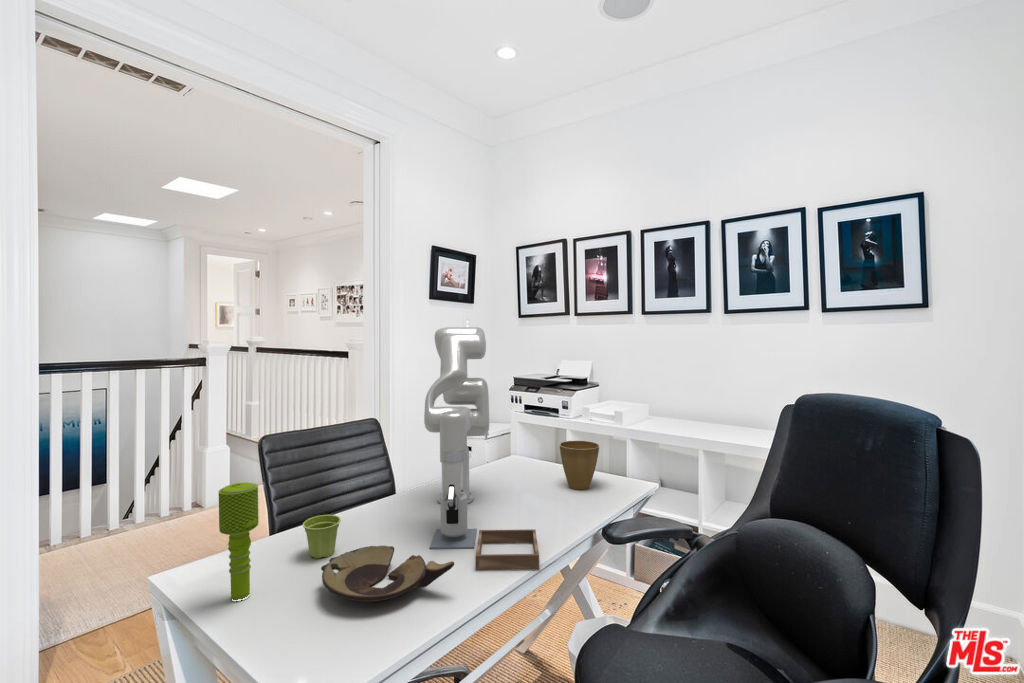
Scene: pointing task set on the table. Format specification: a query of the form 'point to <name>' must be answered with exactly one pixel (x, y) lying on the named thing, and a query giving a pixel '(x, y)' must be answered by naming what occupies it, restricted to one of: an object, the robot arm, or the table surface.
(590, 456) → the plant pot
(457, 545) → the mat
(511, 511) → the table surface
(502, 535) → the box frame
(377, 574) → the broken ceramic bowl
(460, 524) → the can
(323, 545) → the plant pot
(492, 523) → the table surface
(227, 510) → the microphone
